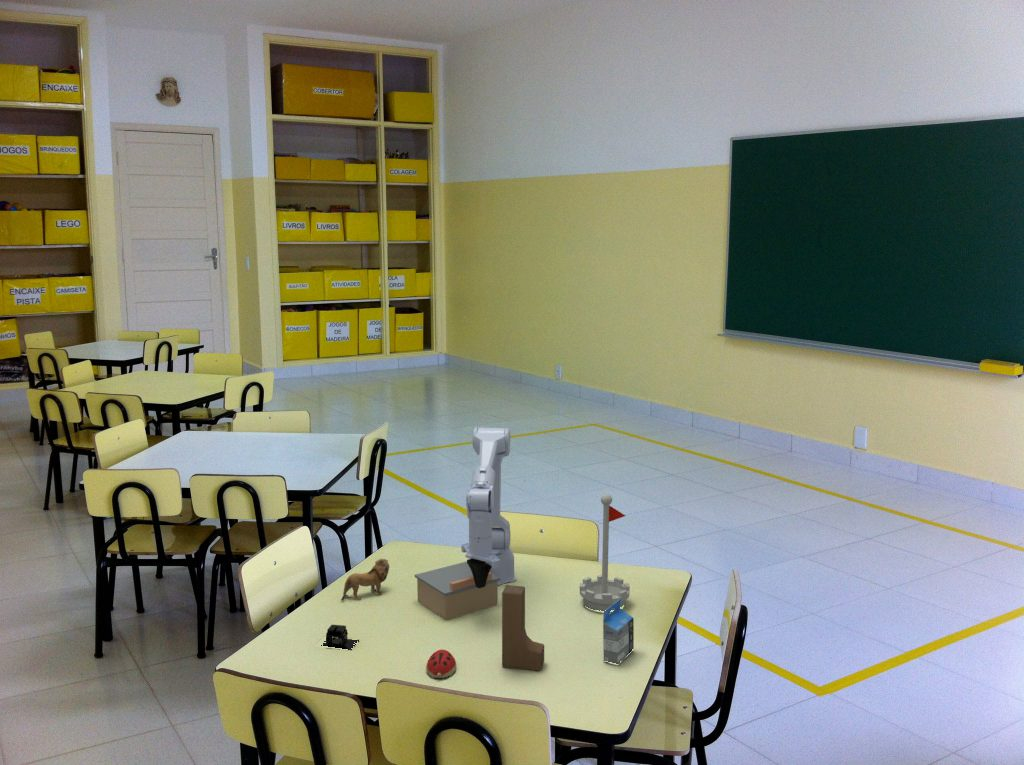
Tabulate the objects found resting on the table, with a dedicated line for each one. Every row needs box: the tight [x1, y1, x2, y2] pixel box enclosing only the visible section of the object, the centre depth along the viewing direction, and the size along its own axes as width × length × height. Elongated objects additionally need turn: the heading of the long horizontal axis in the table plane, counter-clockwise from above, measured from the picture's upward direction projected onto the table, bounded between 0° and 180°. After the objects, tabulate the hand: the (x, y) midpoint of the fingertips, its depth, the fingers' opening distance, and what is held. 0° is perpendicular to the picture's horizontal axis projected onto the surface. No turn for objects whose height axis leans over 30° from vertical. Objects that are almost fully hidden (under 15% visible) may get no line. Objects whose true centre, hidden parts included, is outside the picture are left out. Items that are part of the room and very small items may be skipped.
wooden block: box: [501, 584, 545, 671], centre depth 200 cm, size 9×4×18 cm, turn 78°
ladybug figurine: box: [425, 648, 457, 679], centre depth 199 cm, size 7×10×4 cm
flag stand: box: [579, 493, 631, 611], centre depth 232 cm, size 13×13×30 cm
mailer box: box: [416, 578, 499, 621], centre depth 234 cm, size 16×14×6 cm
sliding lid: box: [414, 560, 500, 596], centre depth 233 cm, size 17×15×2 cm
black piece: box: [321, 624, 360, 651], centre depth 212 cm, size 12×7×5 cm, turn 80°
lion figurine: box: [340, 558, 390, 601], centre depth 239 cm, size 15×5×9 cm, turn 130°
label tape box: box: [602, 599, 635, 665], centre depth 204 cm, size 9×4×12 cm, turn 148°
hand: (480, 586), depth 224 cm, fingers closed
